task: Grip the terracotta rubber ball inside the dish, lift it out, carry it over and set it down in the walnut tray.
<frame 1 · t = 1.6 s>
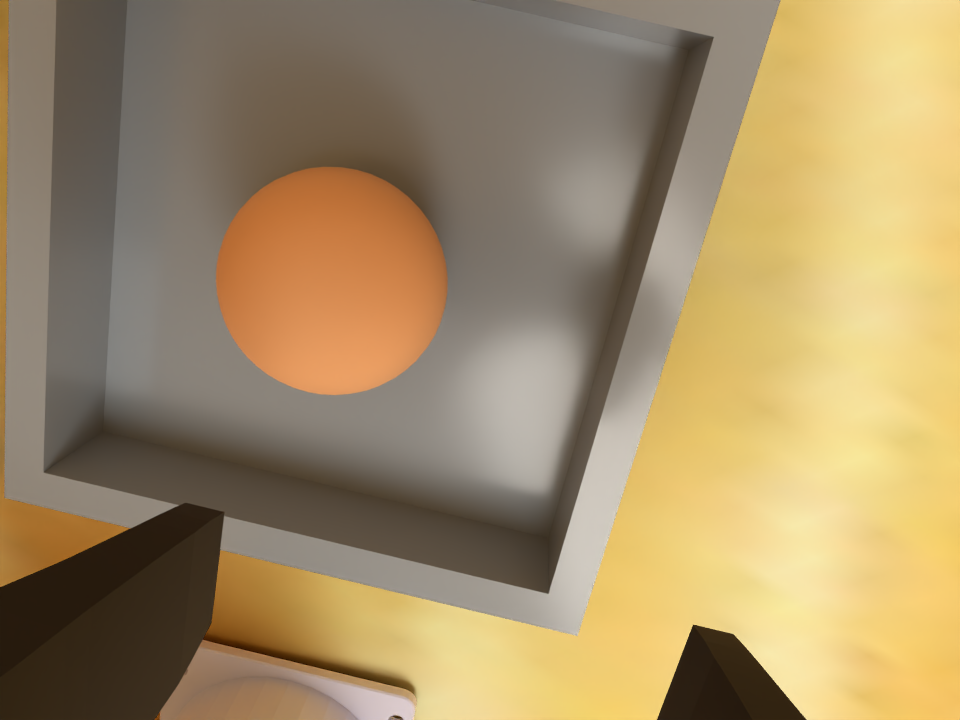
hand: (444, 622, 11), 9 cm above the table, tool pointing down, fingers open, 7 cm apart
ball: (335, 282, 16), point 3 cm above the table, touching dish
dish: (365, 260, 19), on the table
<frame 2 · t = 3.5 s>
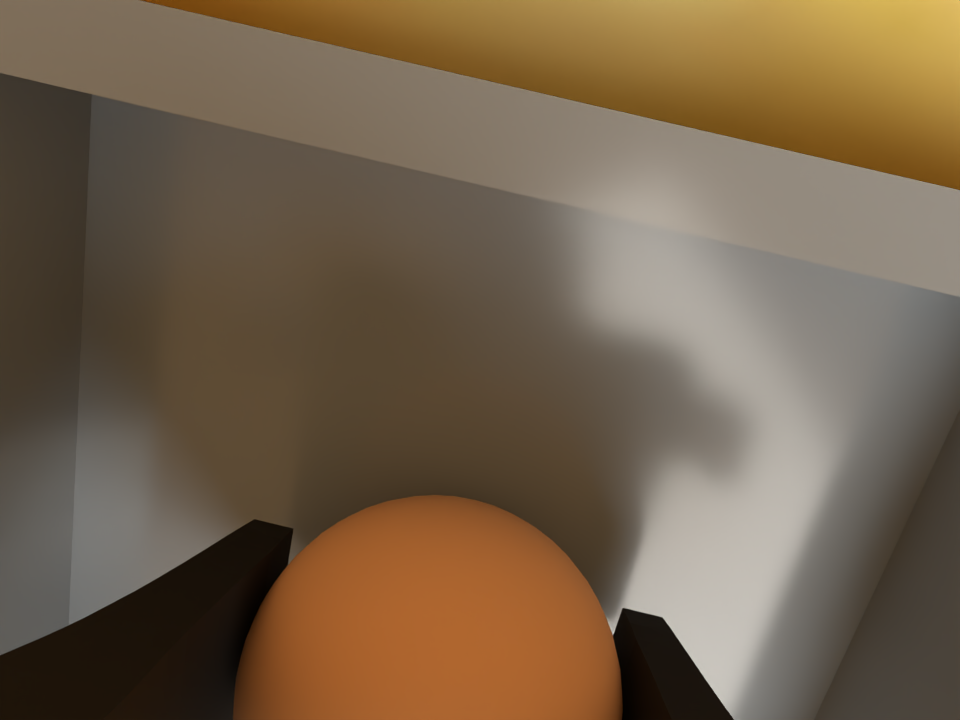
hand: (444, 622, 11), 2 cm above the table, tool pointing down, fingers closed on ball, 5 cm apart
ball: (431, 686, 10), point 3 cm above the table, touching dish, gripper
dish: (456, 562, 12), on the table
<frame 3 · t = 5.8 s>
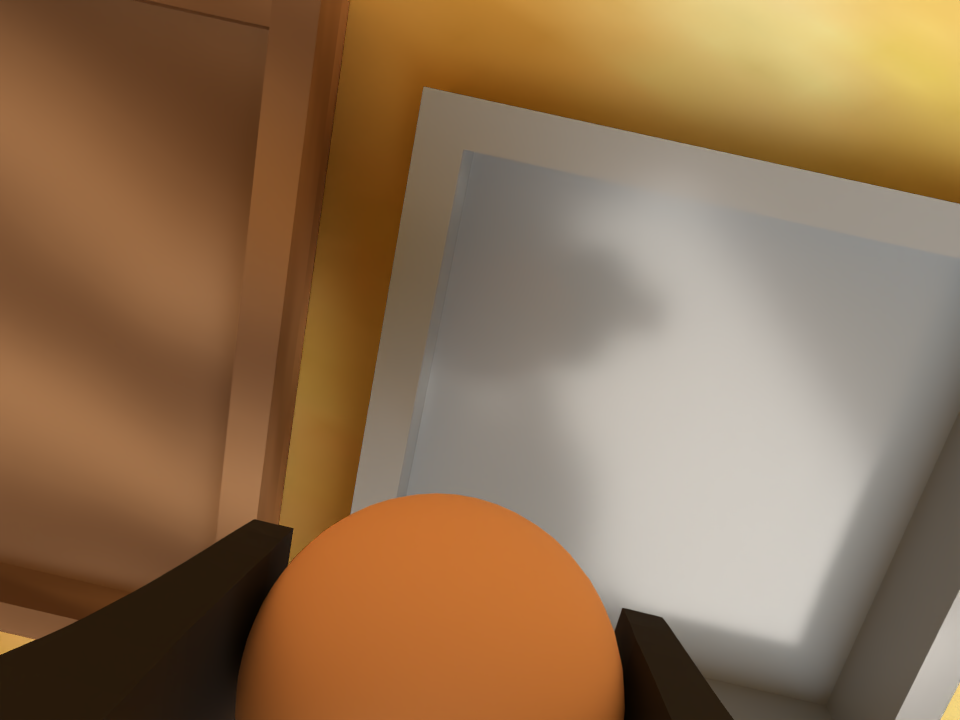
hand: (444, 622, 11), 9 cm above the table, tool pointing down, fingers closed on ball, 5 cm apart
tray: (47, 308, 20), on the table
ball: (433, 684, 10), point 10 cm above the table, touching gripper
dish: (666, 448, 19), on the table
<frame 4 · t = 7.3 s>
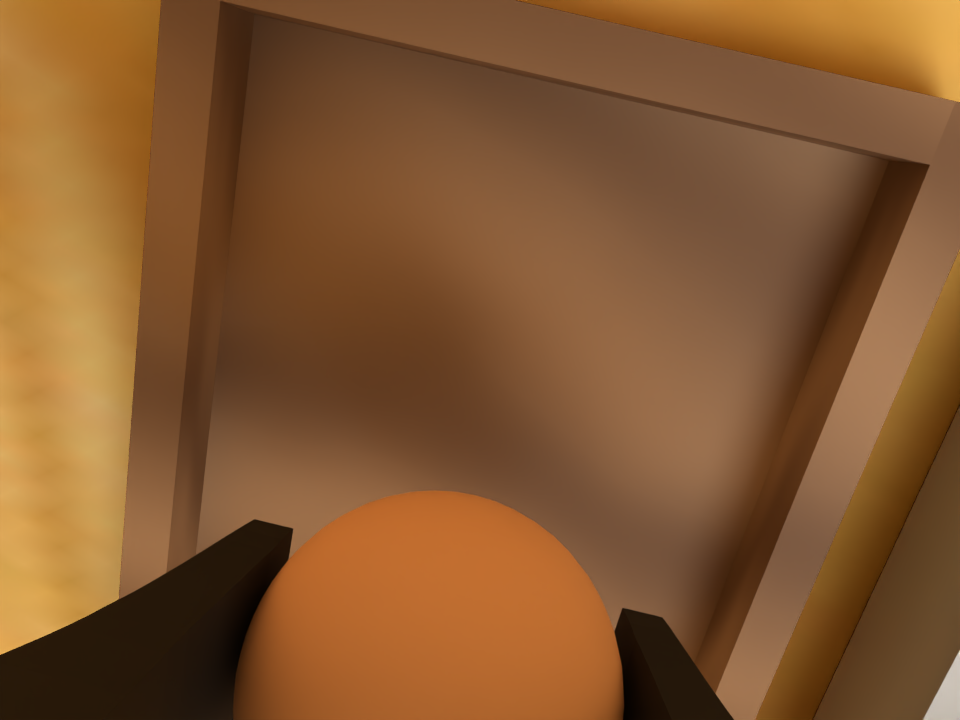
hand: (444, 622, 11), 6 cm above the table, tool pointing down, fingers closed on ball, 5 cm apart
tray: (479, 456, 16), on the table
ball: (432, 681, 10), point 7 cm above the table, touching gripper
when the fingers open (3 cm above the table, at t = 8.2 s): ball drops 2 cm, resting on tray.
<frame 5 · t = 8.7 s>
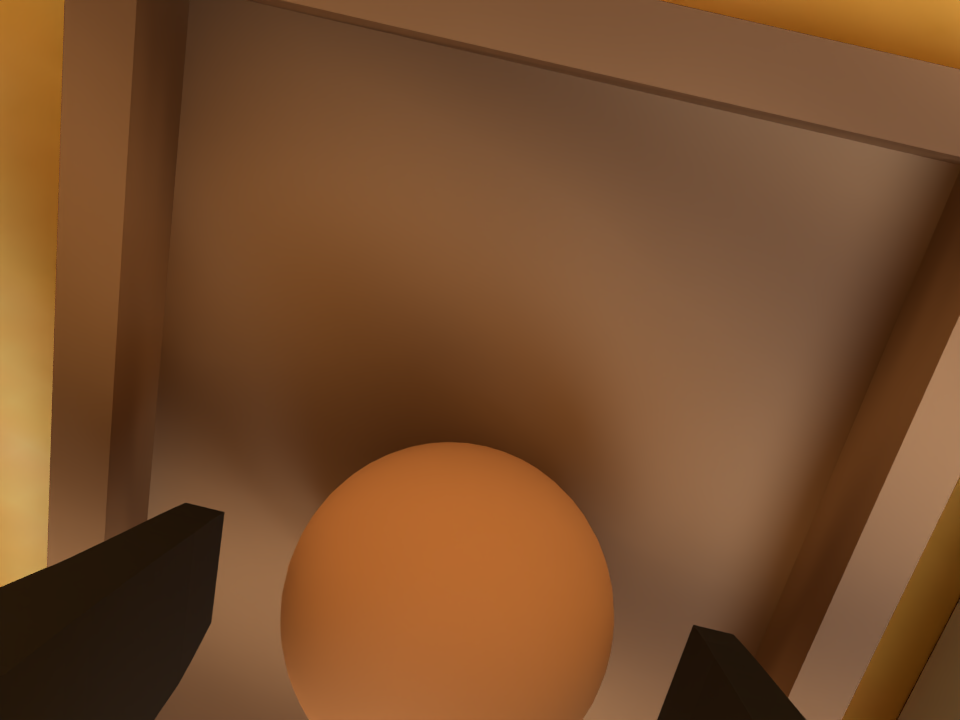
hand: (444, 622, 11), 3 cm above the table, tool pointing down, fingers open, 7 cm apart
tray: (467, 509, 14), on the table
ball: (448, 605, 11), point 3 cm above the table, touching tray
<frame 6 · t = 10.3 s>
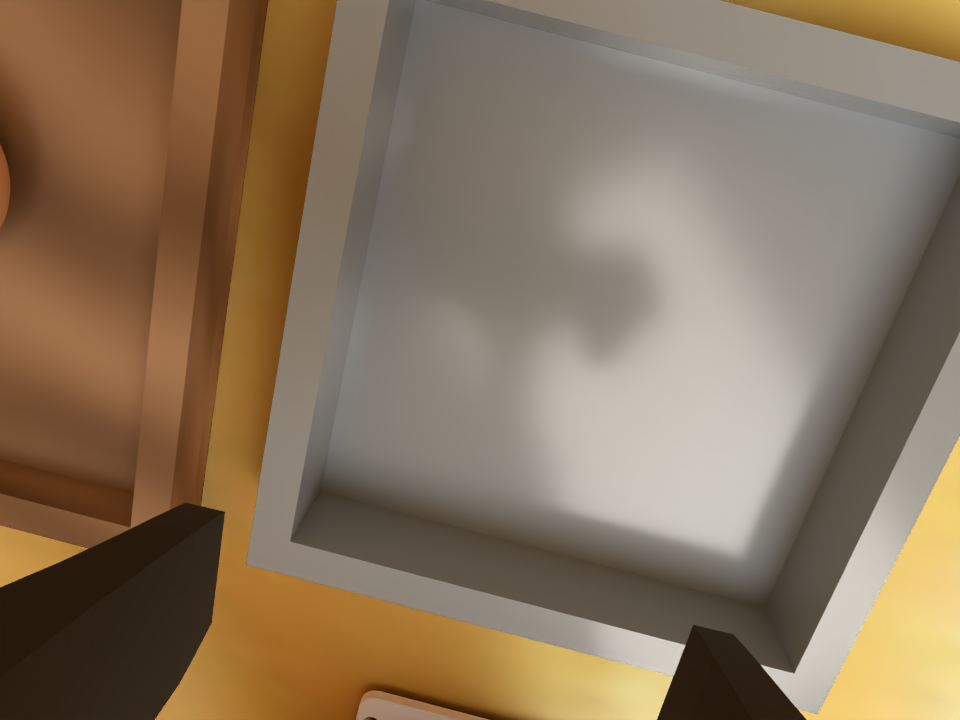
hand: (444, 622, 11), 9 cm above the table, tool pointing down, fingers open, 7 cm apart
dish: (608, 332, 19), on the table
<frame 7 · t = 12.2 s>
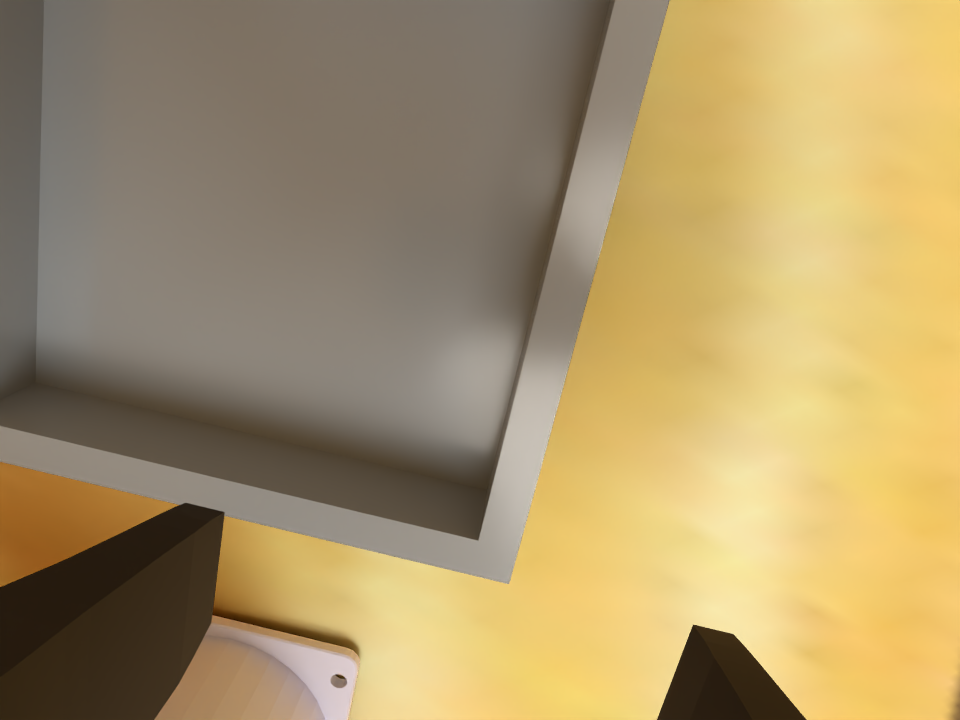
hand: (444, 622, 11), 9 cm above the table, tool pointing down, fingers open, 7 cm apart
dish: (295, 203, 19), on the table
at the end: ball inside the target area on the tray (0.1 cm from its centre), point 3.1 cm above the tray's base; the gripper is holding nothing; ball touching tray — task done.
